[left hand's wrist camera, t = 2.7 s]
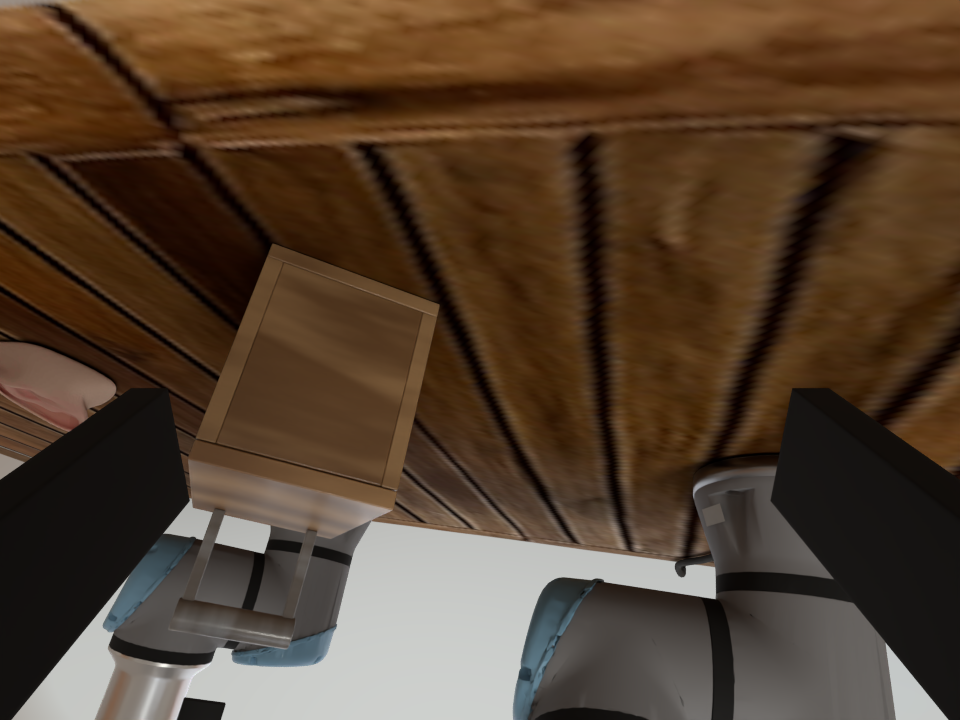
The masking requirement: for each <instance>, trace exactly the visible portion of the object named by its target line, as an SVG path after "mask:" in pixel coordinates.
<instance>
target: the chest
mask: <svg viewBox="0 0 960 720" xmlns="http://www.w3.org/2000/svg"><path fill="white" fill-rule="evenodd" d="M438 310H439V304H437V303H434V302H431V301H428V300H426V299H423V298H420V297H418V296H415V295H412V294H409V293H407V292H404V291H401V290H399V289H396V288H393V287H390V286H388V285H385V284H382V283H380V282H377V281H374V280H371V279H369V278H366V277H363V276H361V275H358V274H355V273H352V272H350V271H347V270H344V269H342V268H339V267H336V266H333V265H331V264H328V263H325V262H323V261H320V260H317V259H314V258H312V257H309V256H306V255H303V254H301V253H298V252H295V251H293V250H290V249H287V248H284V247H282V246H279V245H276V244H272V246H271V248H270V251H269V253H268V256H267V258H266V261H265V263H264V266H263V268H262V271H261V273H260V276H259V278H258V281H257V283H256V286H255V289H254V291H253V294H252V296H251V299H250V301H249V304H248V306H247V309H246V311H245V314H244V316H243V319H242V322H241V324H240V327H239V329H238V332H237V334H236V337H235V339H234V342H233V344H232V347H231V349H230V352H229V355H228V357H227V360H226V362H225V365H224V367H223V370H222V372H221V375H220V377H219V380H218V382H217V385H216V388H215V390H214V393H213V395H212V398H211V400H210V403H209V405H208V408H207V410H206V413H205V415H204V418H203V421H202V423H201V426H200V428H199V431H198V433H197V436H196V440H200V441H204V442H208V443H212V444H216V445H220V446H223V447H227V448H231V449H235V450H239V451H243V452H246V453H250V454H254V455H258V456H262V457H266V458H270V459H273V460H277V461H281V462H285V463H289V464H293V465H296V466H300V467H304V468H308V469H312V470H316V471H320V472H323V473H327V474H331V475H335V476H339V477H343V478H347V479H350V480H354V481H358V482H362V483H366V484H370V485H373V486H377V487H381V488H385V489H389V490H393V491H397V490H398V486H399V482H400V478H401V473H402V469H403V464H404V460H405V456H406V451H407V447H408V442H409V438H410V434H411V429H412V425H413V420H414V416H415V412H416V407H417V403H418V398H419V394H420V390H421V385H422V381H423V376H424V372H425V367H426V363H427V359H428V354H429V350H430V345H431V341H432V337H433V332H434V328H435V323H436V319H437V315H438Z"/></svg>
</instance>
